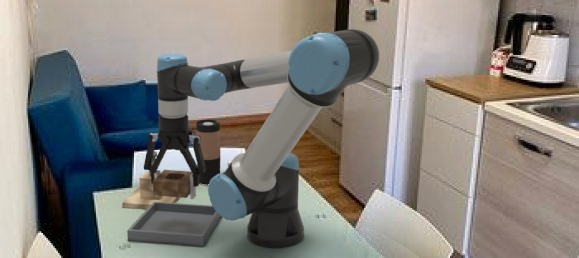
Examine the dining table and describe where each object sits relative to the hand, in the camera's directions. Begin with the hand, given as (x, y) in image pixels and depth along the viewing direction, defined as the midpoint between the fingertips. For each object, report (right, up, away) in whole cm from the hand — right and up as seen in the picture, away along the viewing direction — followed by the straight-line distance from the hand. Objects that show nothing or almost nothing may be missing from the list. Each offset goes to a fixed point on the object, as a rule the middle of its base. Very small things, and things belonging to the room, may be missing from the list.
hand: (175, 196), depth 170 cm
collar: (0, +2, 0) cm, 2 cm away
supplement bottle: (+13, -2, +30) cm, 33 cm away
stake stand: (-10, -4, +21) cm, 24 cm away
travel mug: (+4, +1, +38) cm, 38 cm away
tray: (0, -9, +2) cm, 9 cm away
